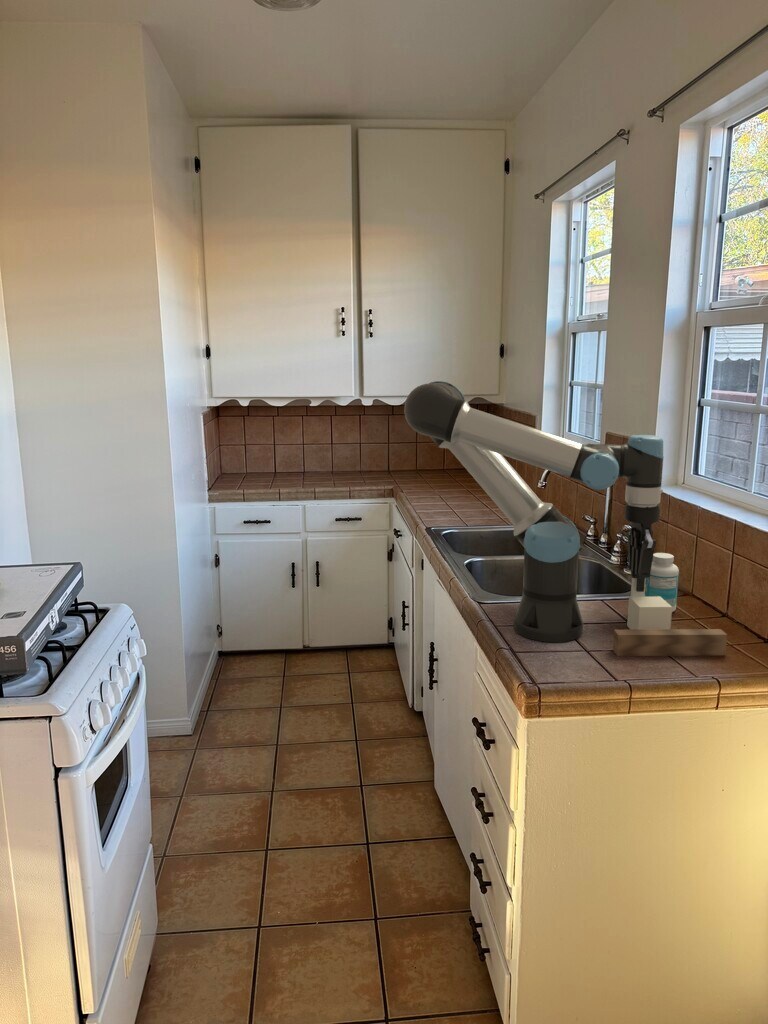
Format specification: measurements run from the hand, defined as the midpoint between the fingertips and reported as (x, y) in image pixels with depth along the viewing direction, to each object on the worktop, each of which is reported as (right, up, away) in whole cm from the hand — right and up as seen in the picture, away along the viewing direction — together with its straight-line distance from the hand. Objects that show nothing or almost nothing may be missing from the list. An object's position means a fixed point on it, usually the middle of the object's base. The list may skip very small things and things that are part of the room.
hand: (637, 603), depth 170 cm
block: (0, -5, -8) cm, 10 cm away
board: (0, -8, -20) cm, 21 cm away
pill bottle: (+7, -2, +6) cm, 10 cm away
